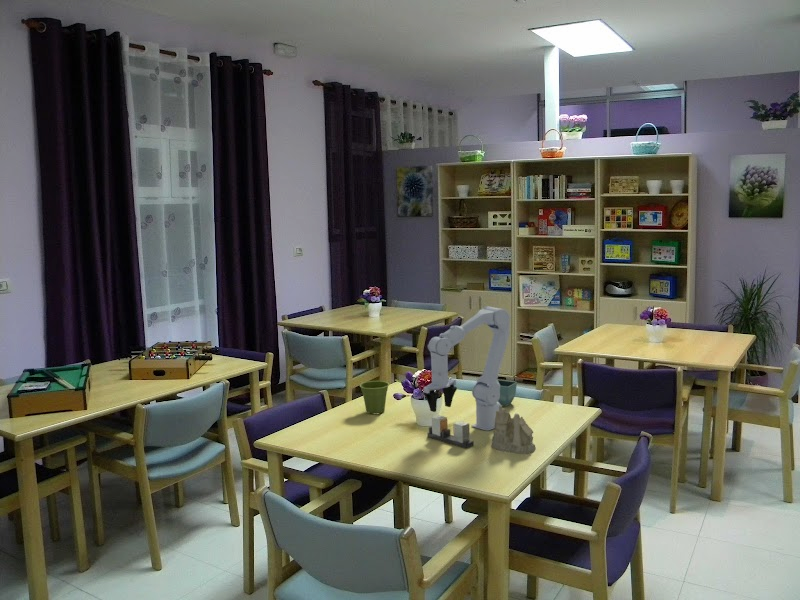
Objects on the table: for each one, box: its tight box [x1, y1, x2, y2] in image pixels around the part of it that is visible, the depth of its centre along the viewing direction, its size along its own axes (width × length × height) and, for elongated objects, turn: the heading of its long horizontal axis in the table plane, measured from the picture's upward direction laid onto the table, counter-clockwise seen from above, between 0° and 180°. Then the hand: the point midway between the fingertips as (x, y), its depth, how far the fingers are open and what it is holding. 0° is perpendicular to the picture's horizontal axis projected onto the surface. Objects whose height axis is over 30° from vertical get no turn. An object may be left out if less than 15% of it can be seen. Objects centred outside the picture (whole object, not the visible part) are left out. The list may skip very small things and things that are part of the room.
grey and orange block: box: [431, 414, 449, 436], centre depth 251 cm, size 4×4×6 cm
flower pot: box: [497, 379, 518, 407], centre depth 291 cm, size 9×9×9 cm
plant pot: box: [359, 380, 390, 414], centre depth 285 cm, size 12×12×11 cm
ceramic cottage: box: [490, 405, 537, 455], centre depth 242 cm, size 16×16×15 cm
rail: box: [427, 420, 474, 449], centre depth 247 cm, size 18×4×8 cm, turn 43°
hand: (440, 408), depth 253 cm, fingers open, 7 cm apart
